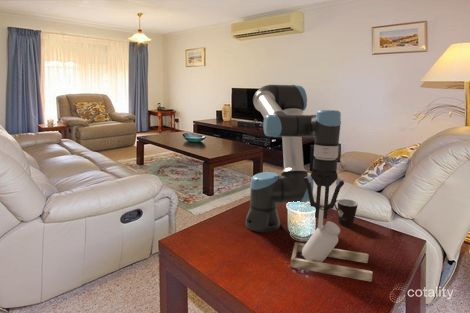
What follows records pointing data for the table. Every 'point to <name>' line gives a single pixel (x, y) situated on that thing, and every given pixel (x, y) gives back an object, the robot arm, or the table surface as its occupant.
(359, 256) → the cradle
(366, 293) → the table surface
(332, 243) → the pill bottle
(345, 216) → the coffee mug
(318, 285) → the table surface
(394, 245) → the table surface
